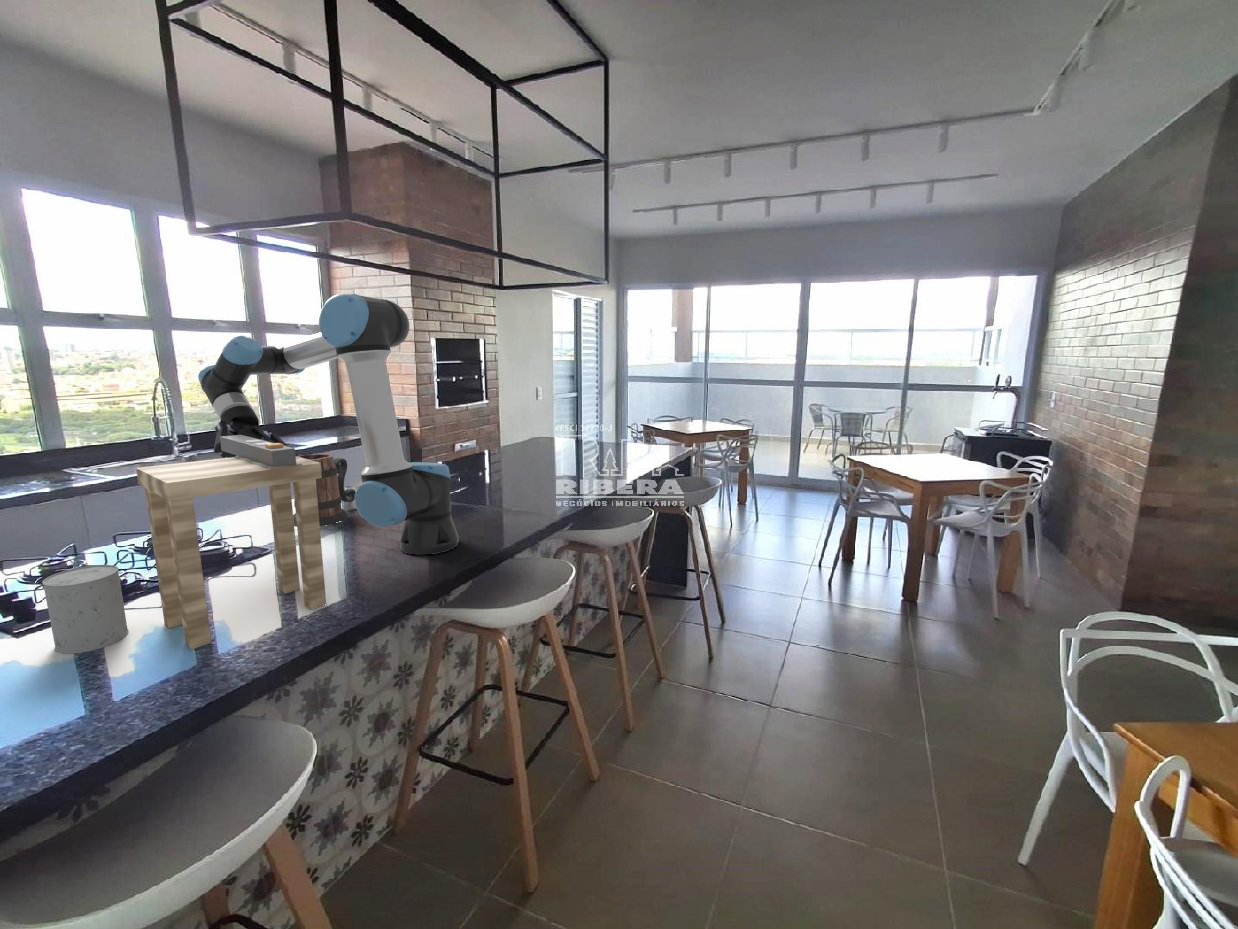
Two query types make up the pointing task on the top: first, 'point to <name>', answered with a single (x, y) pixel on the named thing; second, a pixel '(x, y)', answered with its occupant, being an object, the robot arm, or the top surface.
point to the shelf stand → (179, 538)
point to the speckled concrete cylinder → (85, 608)
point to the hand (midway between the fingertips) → (271, 476)
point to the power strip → (258, 450)
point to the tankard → (330, 489)
